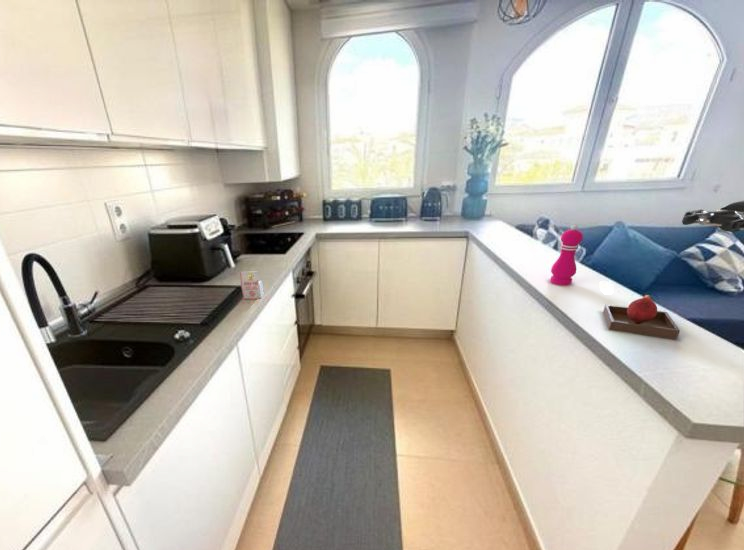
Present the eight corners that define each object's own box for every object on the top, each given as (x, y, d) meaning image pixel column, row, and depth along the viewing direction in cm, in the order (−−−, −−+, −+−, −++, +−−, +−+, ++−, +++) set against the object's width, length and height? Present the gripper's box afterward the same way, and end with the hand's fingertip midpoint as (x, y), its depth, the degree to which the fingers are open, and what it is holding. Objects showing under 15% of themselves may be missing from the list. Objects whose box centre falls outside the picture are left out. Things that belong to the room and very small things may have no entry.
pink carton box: (246, 295, 129) (241, 270, 125) (263, 295, 128) (259, 269, 124) (243, 299, 126) (238, 273, 121) (261, 299, 125) (257, 273, 121)
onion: (650, 330, 88) (662, 302, 84) (622, 324, 91) (631, 296, 88) (652, 321, 91) (663, 294, 88) (624, 316, 95) (634, 289, 91)
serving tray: (663, 320, 93) (667, 311, 91) (676, 339, 84) (680, 330, 83) (602, 312, 99) (605, 304, 98) (608, 329, 90) (611, 321, 89)
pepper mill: (552, 277, 125) (565, 221, 116) (575, 281, 120) (591, 224, 111) (545, 283, 121) (558, 225, 112) (569, 287, 116) (585, 228, 107)
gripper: (714, 197, 94) (677, 204, 89) (794, 203, 81) (755, 211, 77) (703, 225, 97) (666, 233, 92) (777, 234, 85) (740, 244, 80)
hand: (707, 223), depth 84 cm, fingers open, 8 cm apart
